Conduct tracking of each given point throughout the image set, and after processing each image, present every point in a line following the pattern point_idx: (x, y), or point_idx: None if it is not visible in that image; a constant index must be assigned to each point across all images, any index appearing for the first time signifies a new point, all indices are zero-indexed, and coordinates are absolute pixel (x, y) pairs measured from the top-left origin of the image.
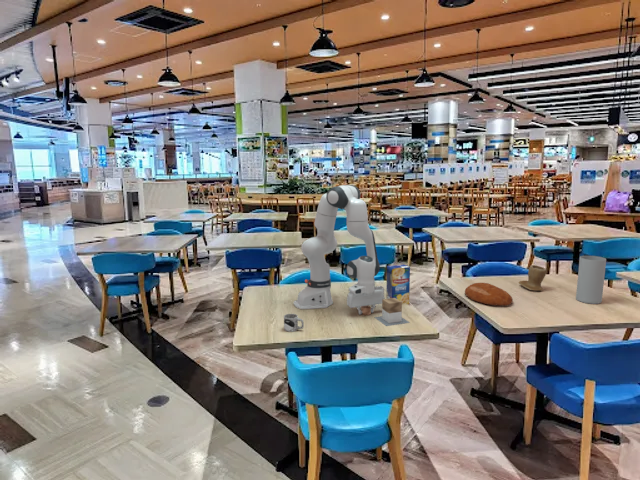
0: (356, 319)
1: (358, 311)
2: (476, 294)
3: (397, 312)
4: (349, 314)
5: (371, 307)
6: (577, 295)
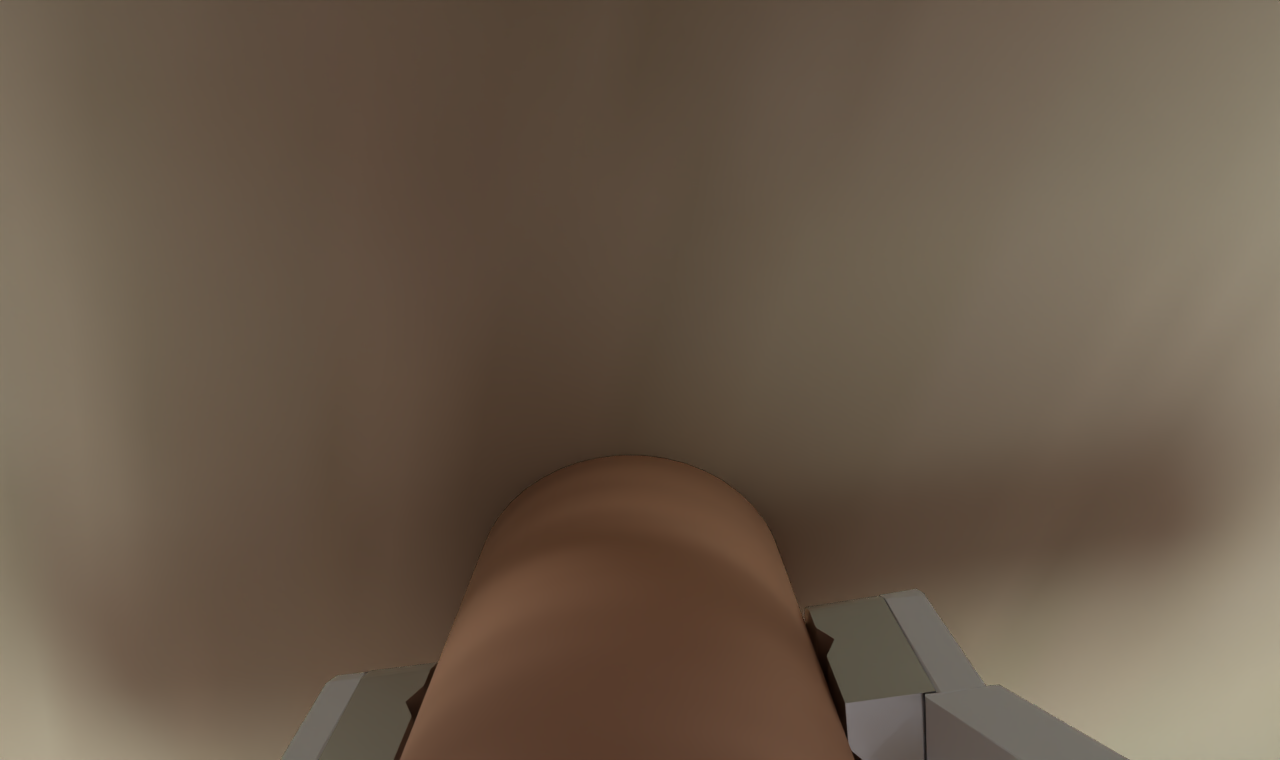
0: None
1: (294, 751)
2: None
3: None
4: (70, 337)
5: (991, 742)
6: None
